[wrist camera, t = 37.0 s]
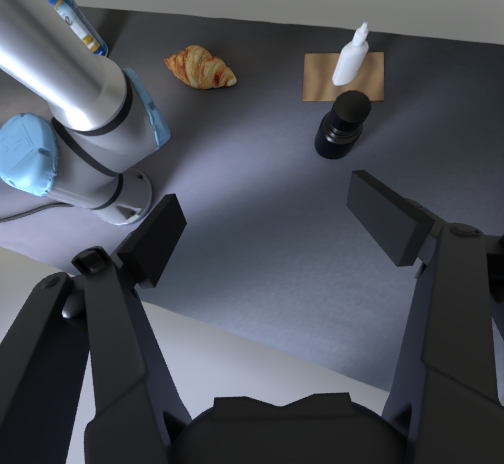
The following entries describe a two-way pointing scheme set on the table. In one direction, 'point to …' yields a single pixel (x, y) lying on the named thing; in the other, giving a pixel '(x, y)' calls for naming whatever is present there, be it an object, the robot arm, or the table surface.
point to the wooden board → (366, 81)
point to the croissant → (200, 68)
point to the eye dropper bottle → (351, 57)
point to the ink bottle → (342, 124)
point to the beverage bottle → (80, 25)
